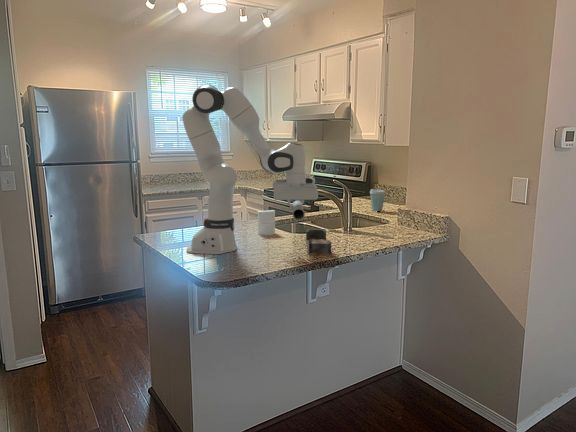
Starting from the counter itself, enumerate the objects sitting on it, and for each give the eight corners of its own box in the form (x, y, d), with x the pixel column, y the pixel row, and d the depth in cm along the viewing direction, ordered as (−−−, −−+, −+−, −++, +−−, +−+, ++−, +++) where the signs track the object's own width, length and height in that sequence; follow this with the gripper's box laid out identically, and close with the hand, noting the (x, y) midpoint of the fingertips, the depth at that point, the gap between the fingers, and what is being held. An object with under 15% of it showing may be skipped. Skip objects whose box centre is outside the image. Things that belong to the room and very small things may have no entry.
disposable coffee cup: (386, 210, 295) (387, 189, 292) (383, 213, 285) (383, 190, 282) (371, 209, 299) (371, 188, 296) (367, 212, 289) (368, 190, 287)
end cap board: (308, 255, 185) (308, 243, 184) (305, 239, 214) (305, 229, 213) (331, 255, 185) (331, 243, 184) (325, 239, 214) (325, 229, 213)
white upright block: (272, 231, 232) (272, 209, 230) (277, 234, 224) (276, 212, 222) (256, 232, 230) (255, 210, 227) (260, 235, 221) (260, 213, 219)
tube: (290, 201, 208) (290, 210, 183) (301, 197, 207) (302, 207, 183) (293, 211, 209) (294, 222, 184) (304, 208, 208) (306, 218, 184)
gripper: (272, 180, 190) (272, 211, 193) (318, 179, 190) (318, 210, 193) (272, 178, 197) (273, 208, 199) (317, 178, 197) (317, 208, 199)
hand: (295, 209), depth 196 cm, fingers closed on tube, 2 cm apart
